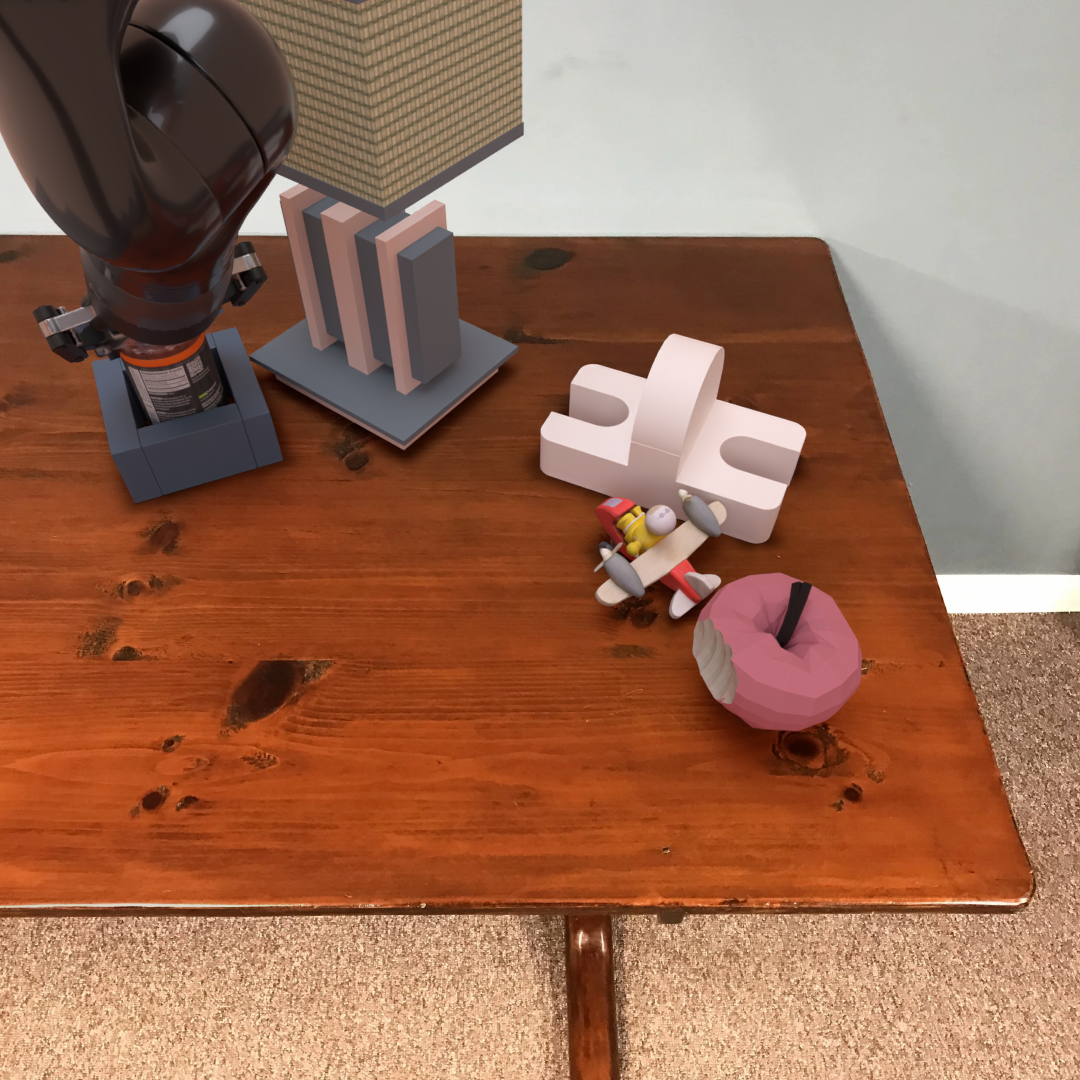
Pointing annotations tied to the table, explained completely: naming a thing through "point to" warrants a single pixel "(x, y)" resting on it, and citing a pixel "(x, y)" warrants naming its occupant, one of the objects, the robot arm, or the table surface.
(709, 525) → the toy airplane
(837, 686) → the apple
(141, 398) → the supplement bottle
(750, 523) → the slotted arch bracket
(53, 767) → the table surface
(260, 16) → the desk lamp
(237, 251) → the robot arm
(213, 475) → the stand
